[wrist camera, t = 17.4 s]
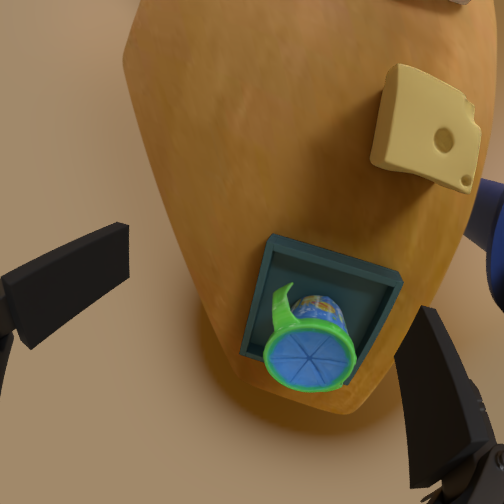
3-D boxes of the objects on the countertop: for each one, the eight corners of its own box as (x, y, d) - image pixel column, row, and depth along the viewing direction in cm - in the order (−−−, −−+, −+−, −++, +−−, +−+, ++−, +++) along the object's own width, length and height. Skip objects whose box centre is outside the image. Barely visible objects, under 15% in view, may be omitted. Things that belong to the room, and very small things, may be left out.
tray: (398, 271, 34) (404, 282, 30) (348, 370, 41) (347, 385, 38) (272, 233, 37) (266, 241, 34) (245, 341, 44) (238, 354, 41)
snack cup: (258, 282, 39) (235, 322, 29) (329, 253, 35) (328, 291, 25) (303, 362, 41) (293, 410, 32) (366, 344, 37) (370, 393, 28)
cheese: (451, 111, 24) (489, 101, 15) (436, 188, 29) (471, 202, 20) (378, 83, 26) (396, 58, 17) (363, 163, 30) (377, 166, 21)
